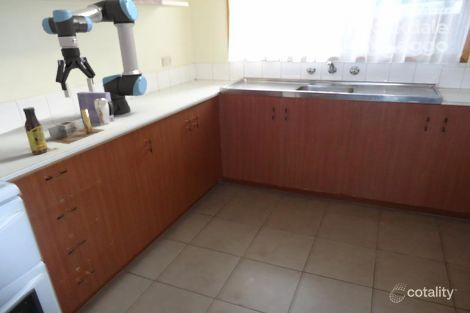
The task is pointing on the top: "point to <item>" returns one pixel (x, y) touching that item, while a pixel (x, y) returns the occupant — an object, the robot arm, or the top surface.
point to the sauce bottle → (34, 132)
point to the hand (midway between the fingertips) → (80, 94)
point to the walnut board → (75, 136)
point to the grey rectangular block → (59, 131)
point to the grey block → (69, 125)
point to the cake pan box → (88, 103)
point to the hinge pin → (87, 121)
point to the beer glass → (102, 110)
